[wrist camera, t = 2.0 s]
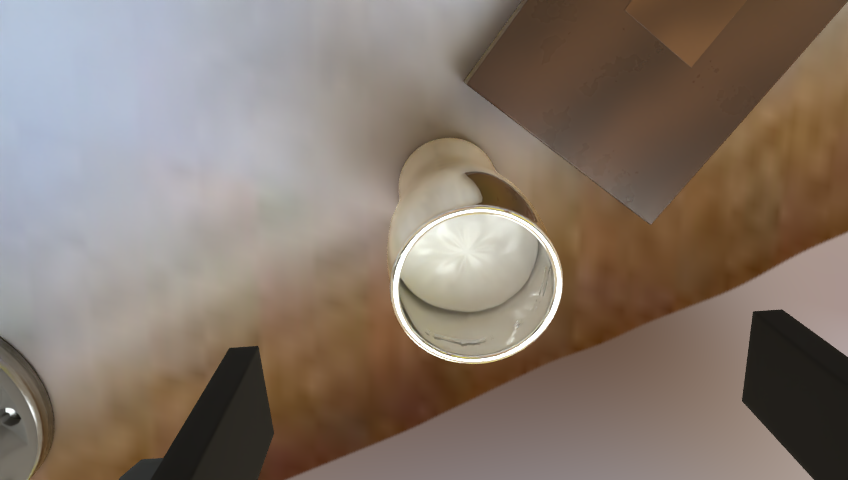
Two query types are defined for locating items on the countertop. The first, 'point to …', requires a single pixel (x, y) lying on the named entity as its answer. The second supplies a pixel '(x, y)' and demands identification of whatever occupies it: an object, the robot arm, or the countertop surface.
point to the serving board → (642, 81)
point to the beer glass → (468, 257)
